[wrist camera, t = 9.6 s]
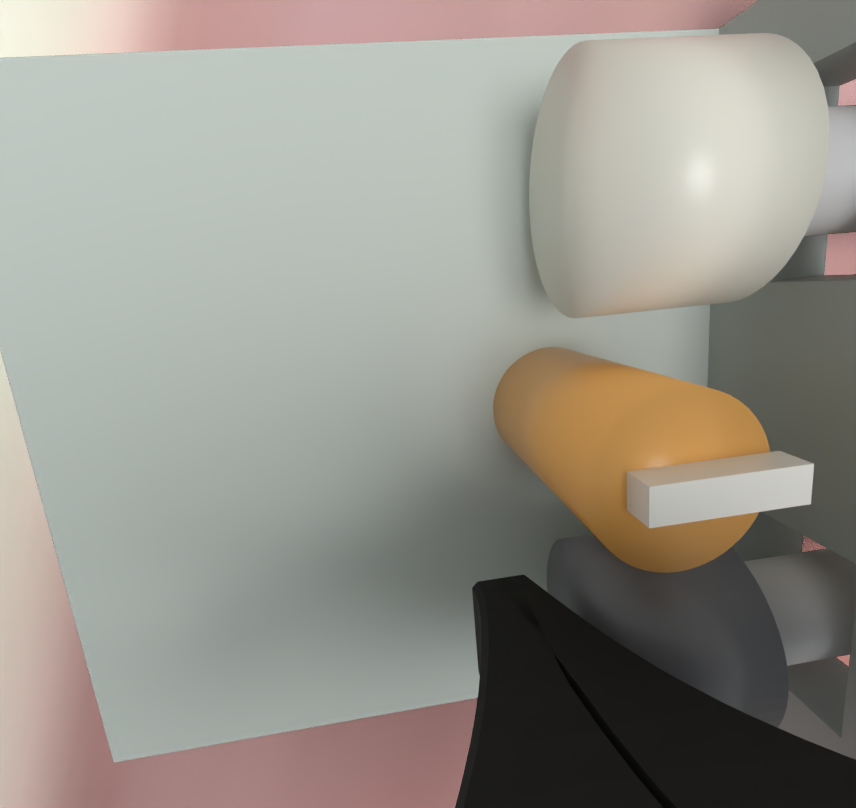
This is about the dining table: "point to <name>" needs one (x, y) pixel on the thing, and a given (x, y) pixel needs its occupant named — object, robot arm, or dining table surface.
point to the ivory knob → (683, 170)
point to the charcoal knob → (715, 616)
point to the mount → (343, 368)
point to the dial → (645, 456)
